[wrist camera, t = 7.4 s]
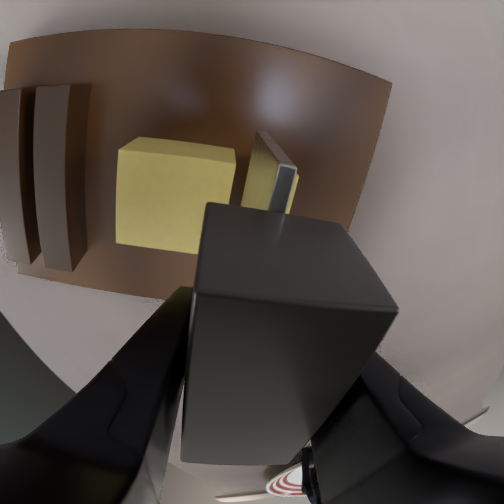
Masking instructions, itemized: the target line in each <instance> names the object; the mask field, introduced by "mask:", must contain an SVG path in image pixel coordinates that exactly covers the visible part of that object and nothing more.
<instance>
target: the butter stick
mask: <svg viewBox="0 0 504 504" xmlns="http://www.w3.org/2000/svg"><path fill="white" fill-rule="evenodd" d="M235 168H236V160H235V151H234V149H232V148H226V147H220V146H213V145H206V144H199V143H191V142H184V141H175V140H167V139H157V138H147V137H138V138H136V139H134V140H133V141H131V142H130V143H128V144H127V145H125V146H123V147H122V148H120V149H119V150H118V165H117V185H116V243H119V244H126V245H133V246H141V247H148V248H155V249H162V250H169V251H177V252H184V253H191V254H198V249H199V243H200V236H201V229H202V223H203V217H204V210H205V205H206V203H207V202H215V203H222V204H229V199H230V194H231V189H232V184H233V178H234V173H235Z"/></svg>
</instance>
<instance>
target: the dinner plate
mask: <svg viewBox="0 0 504 504" xmlns="http://www.w3.org/2000/svg"><path fill="white" fill-rule="evenodd" d="M301 485H302V463H301V462H300V463H298V464H296V465H294V466H292V467H290V468H288V469H286V470H284V471H283V472H281V473H279V474H278V475H277V476H275V477H274V478H272V479H271V480H270V481H269V482H268V483H267V485H266V491H267V492H268V493H270V494H273V495H277V496H285V497H298V496H307V495H305V494H303V493H302V491H301Z"/></svg>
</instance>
